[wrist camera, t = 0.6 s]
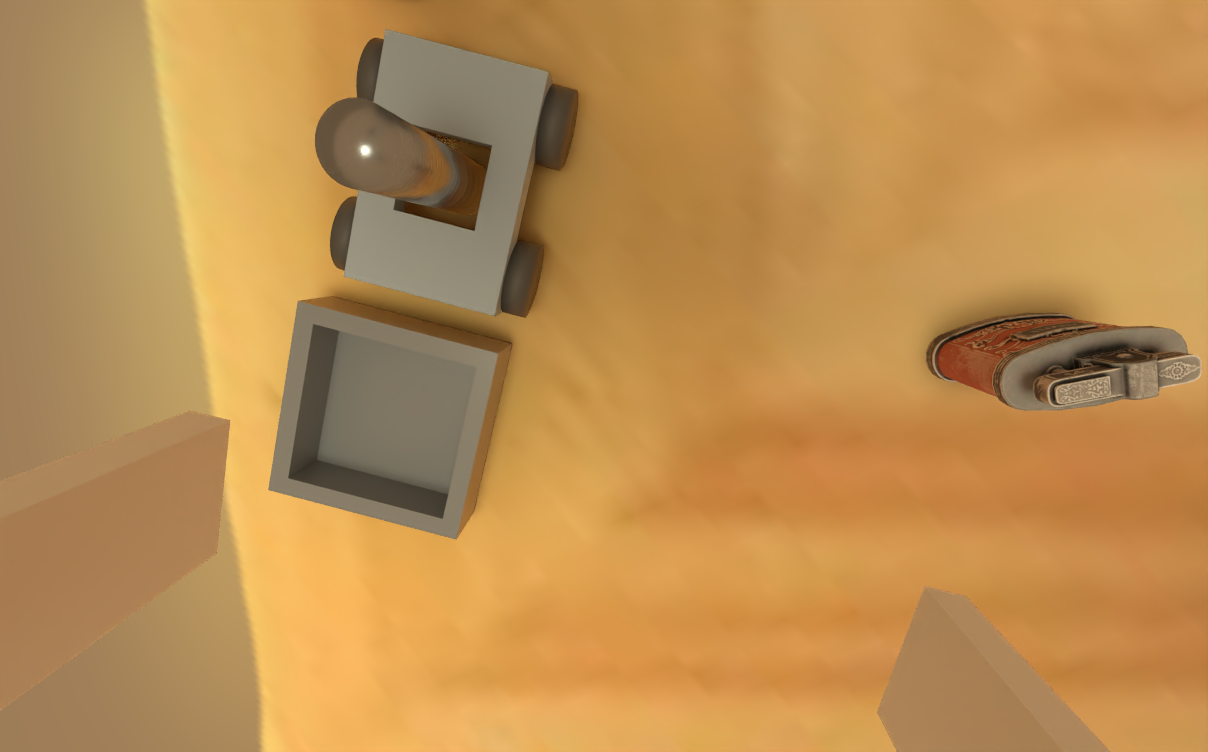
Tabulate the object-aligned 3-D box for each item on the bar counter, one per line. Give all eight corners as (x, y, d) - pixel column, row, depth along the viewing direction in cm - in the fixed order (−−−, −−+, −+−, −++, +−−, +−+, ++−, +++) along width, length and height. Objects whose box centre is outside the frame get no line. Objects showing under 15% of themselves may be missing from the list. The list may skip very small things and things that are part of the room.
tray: (332, 296, 37) (298, 301, 33) (512, 343, 37) (498, 353, 33) (303, 467, 39) (268, 489, 35) (473, 512, 39) (456, 539, 35)
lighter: (1069, 302, 35) (1241, 320, 25) (1074, 360, 35) (1244, 401, 25) (922, 331, 35) (1032, 360, 26) (929, 388, 36) (1039, 438, 26)
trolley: (396, 52, 34) (361, 22, 29) (580, 100, 34) (572, 78, 29) (358, 268, 36) (321, 270, 32) (531, 314, 36) (516, 322, 32)
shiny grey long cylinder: (446, 154, 35) (322, 87, 21) (497, 167, 35) (407, 110, 21) (435, 207, 35) (308, 177, 22) (486, 221, 35) (391, 198, 22)
